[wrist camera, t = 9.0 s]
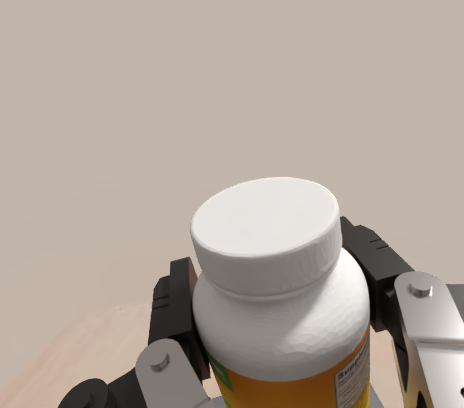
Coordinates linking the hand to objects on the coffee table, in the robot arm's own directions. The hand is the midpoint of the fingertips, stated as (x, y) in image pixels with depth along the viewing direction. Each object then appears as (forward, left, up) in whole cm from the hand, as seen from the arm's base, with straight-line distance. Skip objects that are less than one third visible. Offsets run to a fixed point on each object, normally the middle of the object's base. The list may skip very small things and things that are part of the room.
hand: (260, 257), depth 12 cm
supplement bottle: (0, -3, -6) cm, 7 cm away
